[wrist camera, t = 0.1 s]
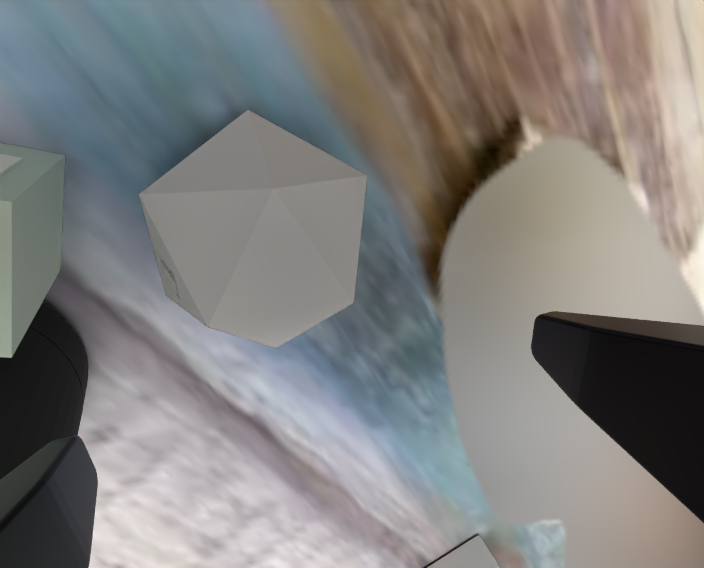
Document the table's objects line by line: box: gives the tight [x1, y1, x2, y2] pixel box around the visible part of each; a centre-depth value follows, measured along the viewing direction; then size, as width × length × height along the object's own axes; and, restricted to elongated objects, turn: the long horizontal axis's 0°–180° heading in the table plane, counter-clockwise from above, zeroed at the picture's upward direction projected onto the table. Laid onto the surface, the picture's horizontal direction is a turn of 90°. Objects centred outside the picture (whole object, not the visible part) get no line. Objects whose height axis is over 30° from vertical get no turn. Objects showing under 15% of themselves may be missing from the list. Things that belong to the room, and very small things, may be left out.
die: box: [139, 110, 367, 348], centre depth 19 cm, size 8×9×10 cm
